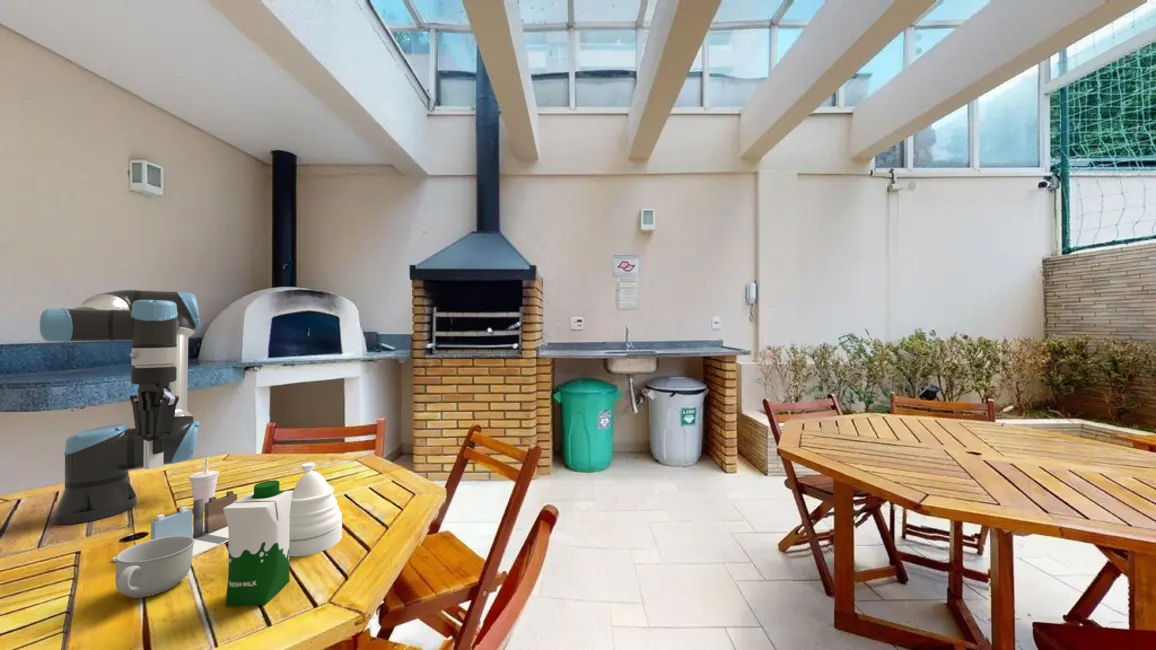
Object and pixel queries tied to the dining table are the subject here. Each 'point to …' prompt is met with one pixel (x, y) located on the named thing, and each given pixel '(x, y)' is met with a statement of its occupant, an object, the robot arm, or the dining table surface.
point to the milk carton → (258, 545)
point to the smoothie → (204, 484)
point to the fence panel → (173, 524)
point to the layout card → (207, 540)
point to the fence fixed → (210, 513)
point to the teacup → (153, 565)
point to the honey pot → (313, 515)
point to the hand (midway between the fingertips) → (153, 467)
